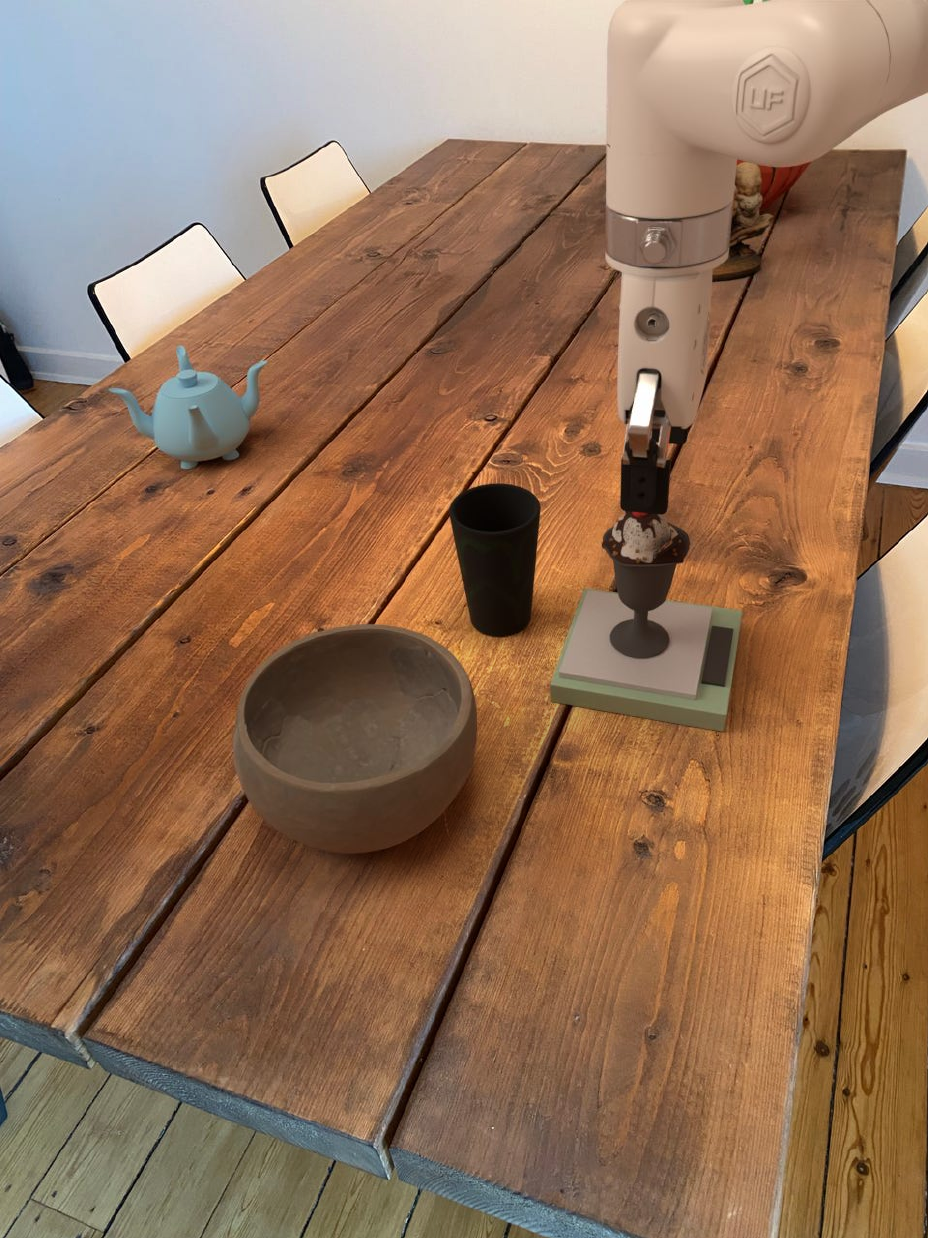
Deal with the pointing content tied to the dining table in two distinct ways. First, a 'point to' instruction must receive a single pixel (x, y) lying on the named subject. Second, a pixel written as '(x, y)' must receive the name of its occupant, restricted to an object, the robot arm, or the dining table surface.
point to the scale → (650, 663)
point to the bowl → (355, 737)
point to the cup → (497, 554)
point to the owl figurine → (744, 224)
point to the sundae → (643, 577)
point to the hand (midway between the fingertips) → (655, 474)
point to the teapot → (197, 414)
